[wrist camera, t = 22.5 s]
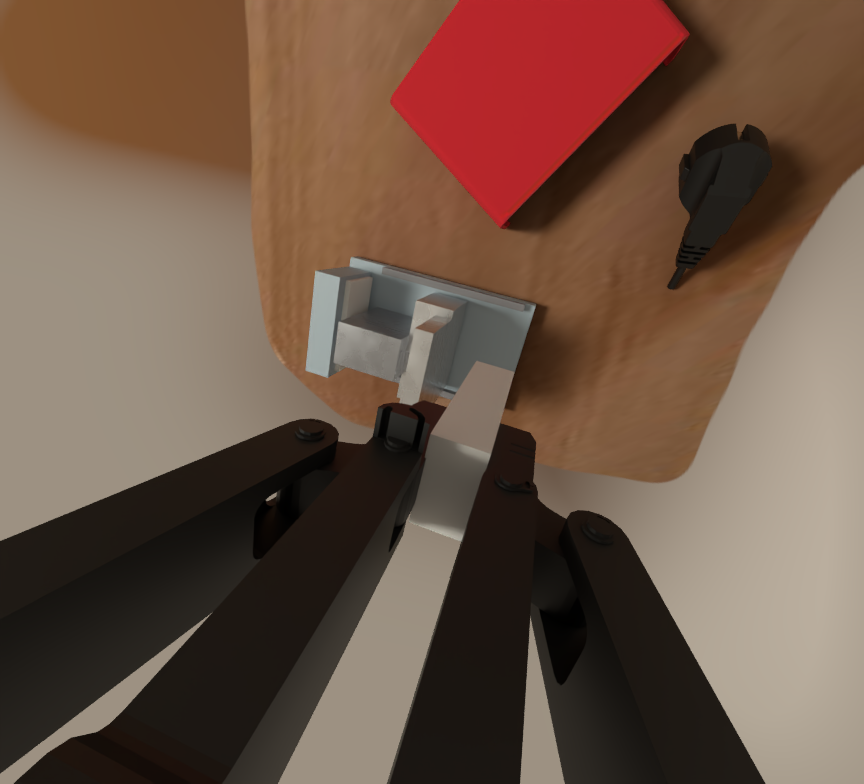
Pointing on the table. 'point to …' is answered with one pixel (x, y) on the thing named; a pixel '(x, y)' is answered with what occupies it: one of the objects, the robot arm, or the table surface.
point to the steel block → (374, 342)
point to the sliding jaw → (430, 347)
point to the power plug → (718, 187)
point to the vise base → (398, 291)
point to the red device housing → (529, 86)
